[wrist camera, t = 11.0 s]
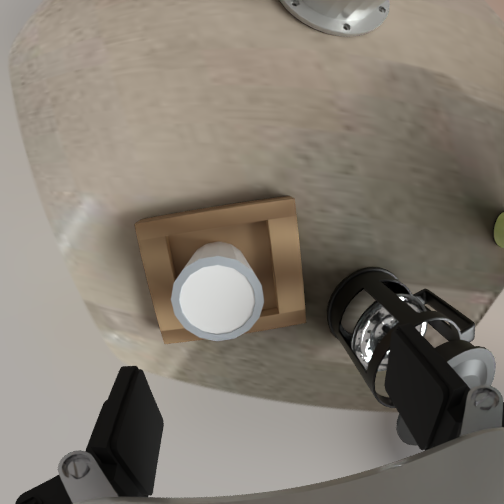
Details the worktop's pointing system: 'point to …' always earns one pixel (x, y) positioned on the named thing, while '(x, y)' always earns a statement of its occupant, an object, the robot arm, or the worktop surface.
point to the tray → (240, 236)
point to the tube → (499, 230)
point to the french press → (398, 313)
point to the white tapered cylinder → (217, 293)
